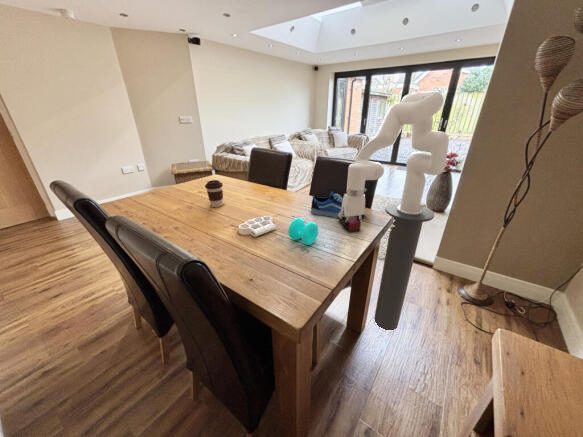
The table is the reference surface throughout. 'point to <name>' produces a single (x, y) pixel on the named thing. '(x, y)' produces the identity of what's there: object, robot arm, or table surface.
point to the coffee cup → (215, 193)
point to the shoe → (328, 205)
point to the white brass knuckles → (257, 226)
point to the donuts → (303, 231)
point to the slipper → (352, 224)
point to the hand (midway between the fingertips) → (351, 227)
